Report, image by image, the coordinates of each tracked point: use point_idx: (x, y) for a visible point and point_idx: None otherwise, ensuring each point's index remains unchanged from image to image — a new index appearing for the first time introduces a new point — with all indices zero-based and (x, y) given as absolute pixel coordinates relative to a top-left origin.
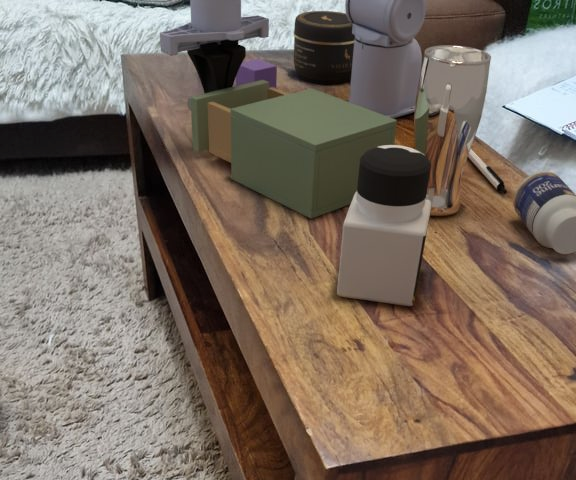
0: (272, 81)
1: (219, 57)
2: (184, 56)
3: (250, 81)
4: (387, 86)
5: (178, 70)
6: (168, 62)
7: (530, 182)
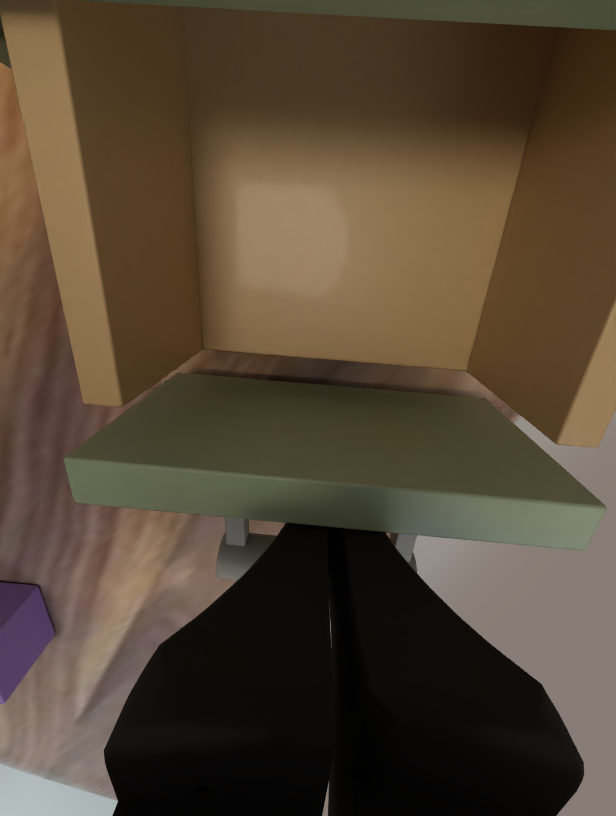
0: None
1: (529, 725)
2: (53, 770)
3: (12, 631)
4: None
5: (105, 743)
6: (99, 769)
7: None
